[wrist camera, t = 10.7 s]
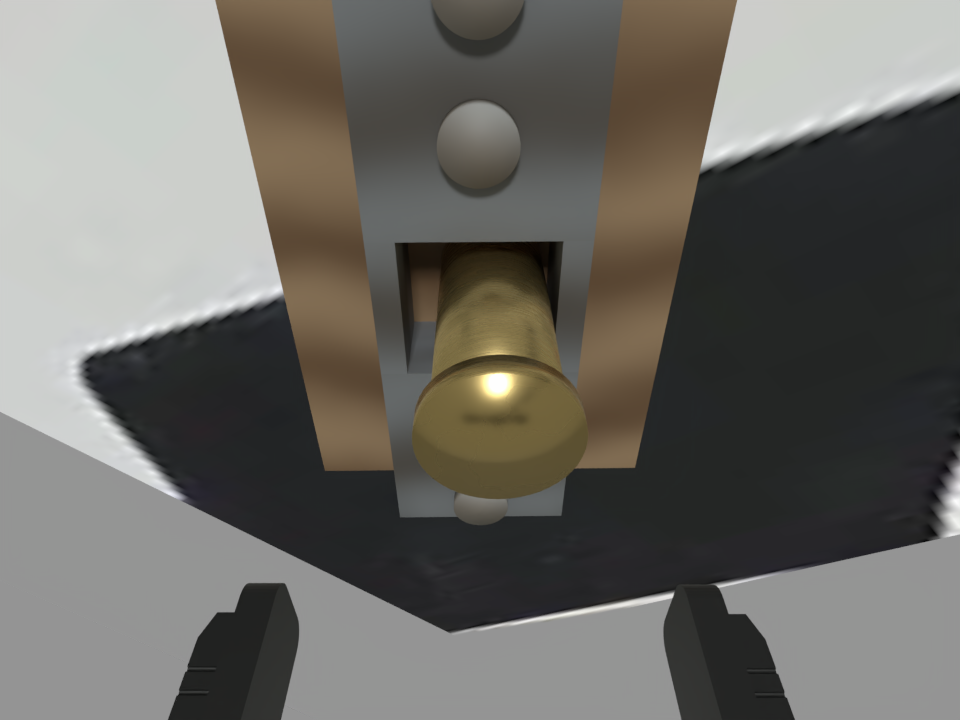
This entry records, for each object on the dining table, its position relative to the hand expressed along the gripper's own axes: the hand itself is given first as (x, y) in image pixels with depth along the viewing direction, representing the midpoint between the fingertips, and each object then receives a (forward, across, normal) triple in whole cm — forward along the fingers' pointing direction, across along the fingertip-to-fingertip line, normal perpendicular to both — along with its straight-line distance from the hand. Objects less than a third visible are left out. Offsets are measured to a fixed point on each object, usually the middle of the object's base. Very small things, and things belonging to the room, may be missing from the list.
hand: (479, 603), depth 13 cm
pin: (+15, 0, 0) cm, 15 cm away
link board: (+16, 0, 0) cm, 16 cm away
